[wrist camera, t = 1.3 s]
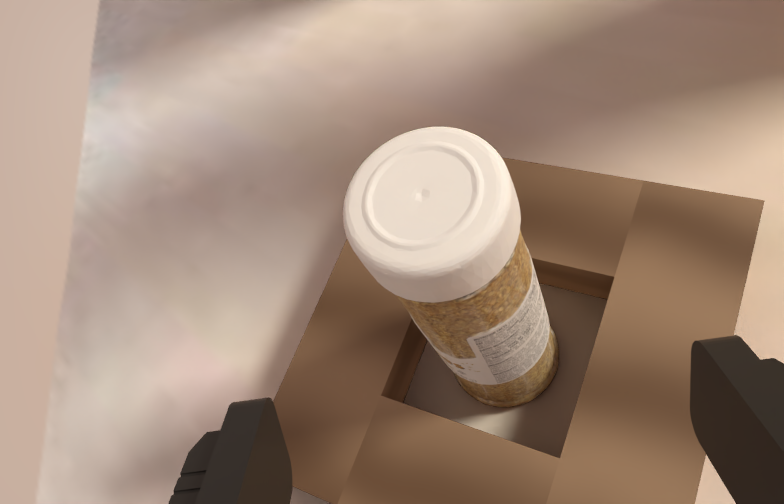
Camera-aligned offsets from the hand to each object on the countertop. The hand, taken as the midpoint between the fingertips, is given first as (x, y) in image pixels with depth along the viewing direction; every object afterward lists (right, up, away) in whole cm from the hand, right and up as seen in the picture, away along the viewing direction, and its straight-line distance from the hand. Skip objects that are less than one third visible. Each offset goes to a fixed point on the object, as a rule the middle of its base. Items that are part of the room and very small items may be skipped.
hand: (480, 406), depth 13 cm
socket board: (+3, -1, +16) cm, 16 cm away
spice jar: (+3, -1, +16) cm, 16 cm away
